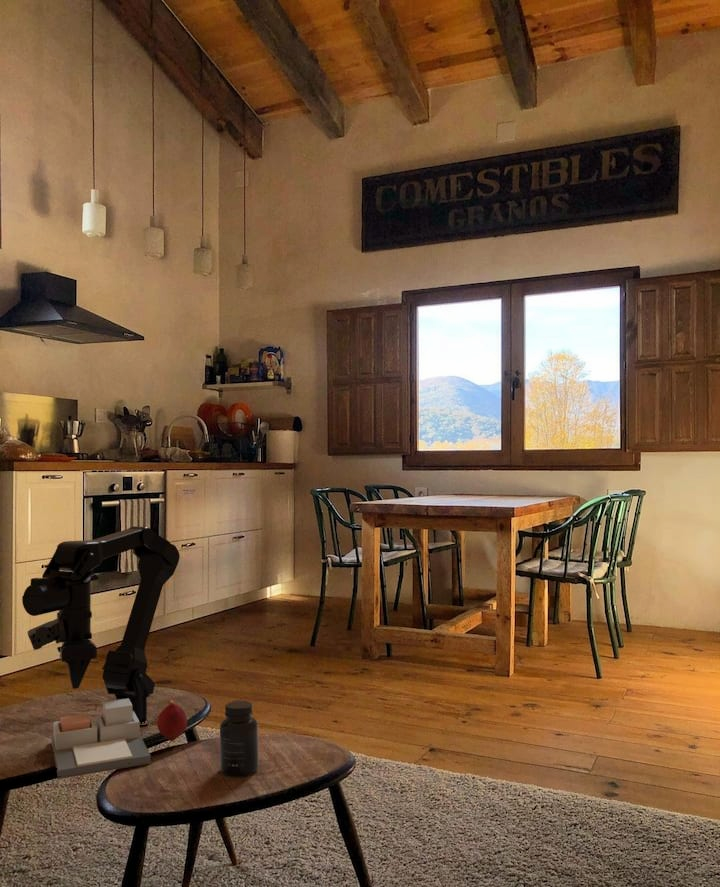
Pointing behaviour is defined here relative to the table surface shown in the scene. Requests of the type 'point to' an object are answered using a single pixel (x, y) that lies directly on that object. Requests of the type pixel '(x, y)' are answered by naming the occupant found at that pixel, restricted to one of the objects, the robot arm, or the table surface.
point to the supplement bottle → (238, 740)
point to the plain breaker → (117, 711)
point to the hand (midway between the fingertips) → (74, 686)
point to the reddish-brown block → (74, 722)
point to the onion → (172, 721)
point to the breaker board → (98, 748)
